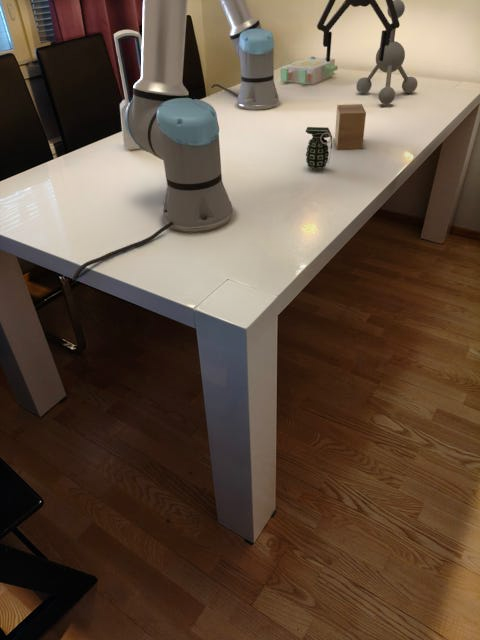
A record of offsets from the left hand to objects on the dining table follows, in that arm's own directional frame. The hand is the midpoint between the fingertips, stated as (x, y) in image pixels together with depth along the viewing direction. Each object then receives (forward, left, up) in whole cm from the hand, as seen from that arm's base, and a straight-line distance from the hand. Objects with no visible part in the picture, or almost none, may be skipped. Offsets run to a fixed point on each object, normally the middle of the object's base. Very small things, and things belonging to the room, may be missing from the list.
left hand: (354, 60), depth 127 cm
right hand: (+60, +25, +8) cm, 65 cm away
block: (+1, 0, -22) cm, 22 cm away
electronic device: (-21, +57, -22) cm, 64 cm away
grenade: (-21, +1, -22) cm, 30 cm away
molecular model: (+55, +2, -22) cm, 59 cm away
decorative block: (+74, +42, -22) cm, 88 cm away
